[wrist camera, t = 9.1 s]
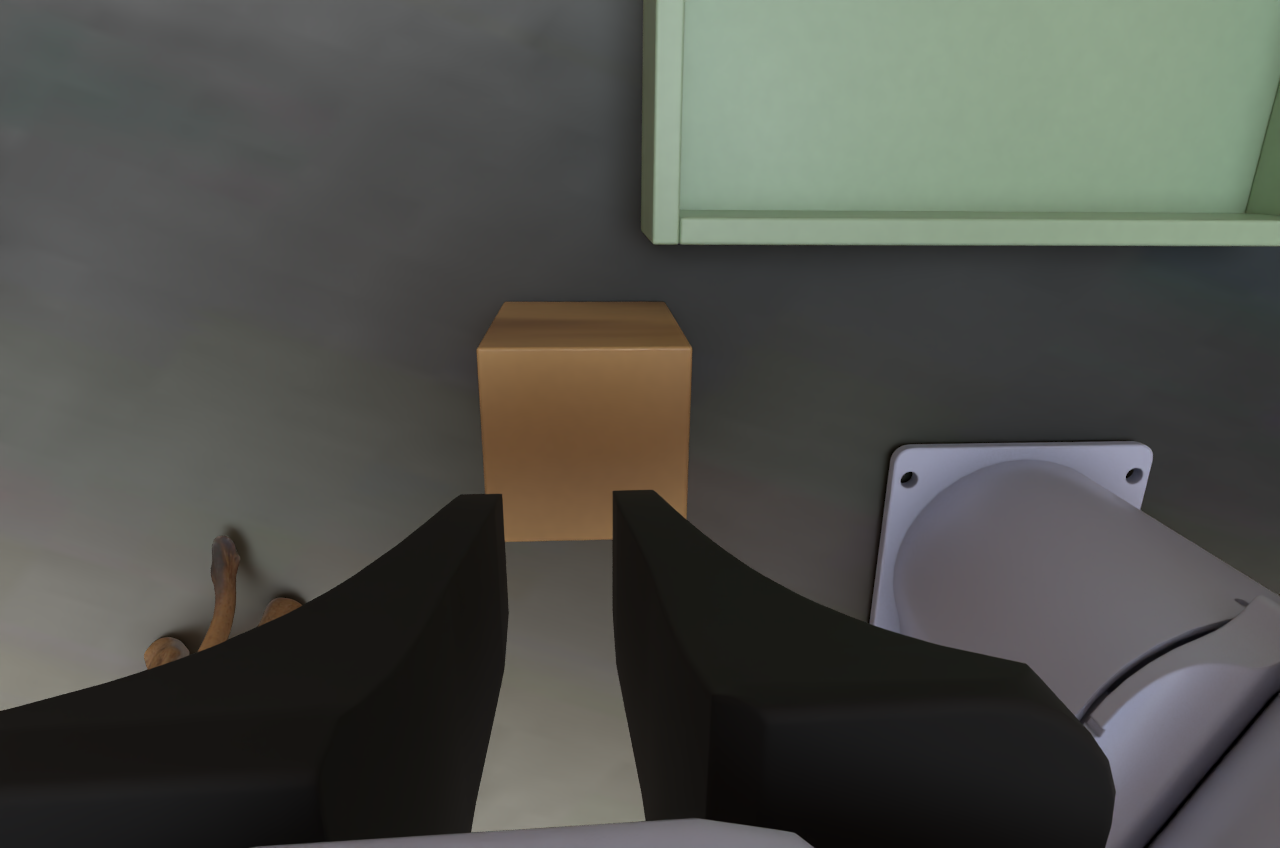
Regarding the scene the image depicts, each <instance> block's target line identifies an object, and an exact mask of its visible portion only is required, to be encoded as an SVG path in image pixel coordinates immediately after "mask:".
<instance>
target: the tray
mask: <svg viewBox="0 0 1280 848" xmlns="http://www.w3.org/2000/svg"><path fill="white" fill-rule="evenodd" d="M641 231H642V232H643V233H644V234H645V235H646V237H647V238H648V239H649V240H650V241H651V242H652V243H653V244H654V245H677V244H678V243H680V244H682V245H973V246H1280V0H643V77H642V182H641Z"/></svg>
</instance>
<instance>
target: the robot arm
mask: <svg viewBox="0 0 1280 848" xmlns="http://www.w3.org/2000/svg"><path fill="white" fill-rule="evenodd" d="M1152 461H1153V453H1152V450H1151V449H1150V448H1149V447H1148V446H1146V445H1144V444H1142V443H1140V442H1136V441H1100V442H1031V443H962V444H908V445H903V446H901V447H899V448H897V449H896V450H895V452H894V453H893V454H892V457H891V460H890V466H889V474H888V482H887V490H886V498H885V505H884V513H883V521H882V529H881V537H880V544H879V552H878V560H877V568H876V576H875V584H874V591H873V599H872V607H871V615H870V623H866V622H863V621H860V620H857V619H855V618H852V617H850V616H847V615H845V614H842V613H840V612H837V611H835V610H833V609H830V608H828V607H825V606H823V605H820V604H818V603H816V602H814V601H811V600H809V599H807V598H805V597H803V596H801V595H799V594H797V593H795V592H793V591H791V590H789V589H787V588H785V587H784V586H782V585H780V584H778V583H776V582H774V581H772V580H771V579H769V578H767V577H765V576H763V575H762V574H760V573H758V572H757V571H755V570H753V569H752V568H750V567H749V566H747V565H746V564H744V563H743V562H741V561H740V560H738V559H737V558H735V557H734V556H733V555H731V554H730V553H728V552H727V551H725V550H724V549H722V548H721V547H720V546H719V545H717V544H716V543H715V542H713V541H712V540H711V539H709V538H708V537H707V536H706V535H704V534H703V533H702V532H701V531H699V530H698V529H697V528H696V527H695V526H693V525H692V524H691V523H690V522H689V521H688V520H686V519H685V518H684V517H683V516H682V515H681V514H680V513H679V512H677V511H676V510H675V509H674V508H673V507H672V506H671V505H670V504H669V503H668V502H666V501H665V500H664V499H663V498H662V497H661V496H660V495H659V494H658V493H657V492H655V491H654V490H620V491H613V623H614V638H615V652H616V665H617V670H618V676H619V681H620V686H621V691H622V696H623V702H624V707H625V712H626V717H627V722H628V727H629V732H630V737H631V742H632V747H633V752H634V757H635V762H636V767H637V773H638V778H639V783H640V788H641V793H642V799H643V806H644V813H645V819H646V821H641V822H626V823H611V824H595V825H580V826H564V827H549V828H534V829H518V830H503V831H488V832H472V833H471V829H472V823H473V817H474V811H475V805H476V800H477V795H478V791H479V786H480V781H481V777H482V772H483V767H484V763H485V758H486V753H487V749H488V744H489V739H490V735H491V730H492V726H493V721H494V716H495V711H496V707H497V702H498V697H499V692H500V688H501V683H502V678H503V673H504V666H505V654H506V642H507V628H508V615H509V611H508V592H507V574H506V555H505V536H504V518H503V499H502V494H467V495H459V496H458V497H456V498H455V499H454V500H452V501H451V502H450V503H449V504H447V505H446V506H445V507H444V508H442V509H441V510H440V511H439V512H438V513H436V514H435V515H434V516H433V517H432V518H430V519H429V520H428V521H427V522H426V523H424V524H423V525H422V526H421V527H419V528H418V529H417V530H416V531H414V532H413V533H412V534H411V535H409V536H408V537H407V538H406V539H404V540H403V541H402V542H401V543H399V544H398V545H397V546H395V547H394V548H392V549H391V550H390V551H388V552H387V553H385V554H384V555H382V556H381V557H380V558H378V559H377V560H375V561H374V562H373V563H371V564H370V565H368V566H367V567H365V568H364V569H363V570H361V571H360V572H358V573H357V574H355V575H354V576H352V577H351V578H349V579H348V580H346V581H344V582H343V583H341V584H340V585H338V586H336V587H335V588H333V589H331V590H330V591H328V592H326V593H324V594H322V595H321V596H319V597H317V598H315V599H313V600H312V601H310V602H308V603H306V604H304V605H302V606H301V607H299V608H297V609H295V610H293V611H291V612H289V613H287V614H285V615H283V616H281V617H278V618H276V619H274V620H272V621H269V622H267V623H265V624H263V625H261V626H258V627H256V628H254V629H252V630H249V631H247V632H245V633H243V634H240V635H238V636H236V637H234V638H231V639H229V640H227V641H225V642H222V643H220V644H218V645H215V646H212V647H210V648H207V649H205V650H202V651H199V652H197V653H194V654H191V655H189V656H186V657H183V658H180V659H178V660H175V661H172V662H169V663H166V664H163V665H160V666H157V667H154V668H151V669H148V670H145V671H142V672H139V673H136V674H133V675H130V676H127V677H124V678H121V679H117V680H114V681H111V682H108V683H104V684H101V685H97V686H93V687H90V688H86V689H82V690H78V691H75V692H71V693H67V694H63V695H60V696H56V697H52V698H48V699H45V700H41V701H37V702H34V703H30V704H26V705H22V706H19V707H15V708H11V709H7V710H3V711H0V848H1280V596H1279V595H1277V594H1275V593H1274V592H1272V591H1271V590H1269V589H1267V588H1266V587H1264V586H1262V585H1261V584H1259V583H1258V582H1256V581H1254V580H1253V579H1251V578H1250V577H1248V576H1246V575H1245V574H1243V573H1241V572H1240V571H1238V570H1237V569H1235V568H1233V567H1232V566H1230V565H1228V564H1227V563H1225V562H1224V561H1222V560H1220V559H1219V558H1217V557H1216V556H1214V555H1212V554H1211V553H1209V552H1207V551H1206V550H1204V549H1203V548H1201V547H1199V546H1198V545H1196V544H1194V543H1193V542H1191V541H1190V540H1188V539H1186V538H1185V537H1183V536H1182V535H1180V534H1178V533H1177V532H1175V531H1173V530H1172V529H1170V528H1169V527H1167V526H1165V525H1164V524H1162V523H1160V522H1159V521H1157V520H1156V519H1154V518H1152V517H1151V516H1149V515H1148V514H1146V513H1144V512H1143V511H1141V510H1140V509H1141V505H1142V501H1143V497H1144V493H1145V489H1146V485H1147V481H1148V477H1149V473H1150V469H1151V465H1152ZM1131 469H1134V471H1133V473H1132V475H1131V476H1130V477H1128V478H1126V475H1127V473H1128V472H1129V471H1130V470H1131ZM907 472H912V474H913V475H912V477H911V479H910V480H909V481H908V482H905V483H901V481H900V480H901V478H902V476H903V475H904V474H905V473H907Z"/></svg>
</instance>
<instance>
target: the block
mask: <svg viewBox="0 0 1280 848" xmlns="http://www.w3.org/2000/svg"><path fill="white" fill-rule="evenodd" d="M477 367H478V384H479V400H480V417H481V433H482V450H483V466H484V483H485V494H502V499H503V518H504V536H505V542H521V541H564V540H607V539H613V491H620V490H654V491H655V492H657V493H658V494H659V495H660V496H661V497H662V498H663V499H664V500H665V501H666V502H668V503H669V504H670V505H671V506H672V507H673V508H674V509H675V510H676V511H677V512H679V513H680V514H681V515H682V516H683V517H684V518H685V519H686V520H687V492H688V463H689V434H690V405H691V376H692V347H691V345H690V344H689V342H688V340H687V339H686V337H685V335H684V334H683V332H682V330H681V329H680V327H679V325H678V323H677V322H676V320H675V318H674V317H673V315H672V313H671V312H670V310H669V308H668V307H667V305H666V303H665V302H504V304H503V305H502V307H501V309H500V310H499V312H498V314H497V315H496V317H495V319H494V321H493V322H492V324H491V326H490V327H489V329H488V331H487V333H486V334H485V336H484V338H483V339H482V341H481V343H480V344H479V346H478V348H477Z"/></svg>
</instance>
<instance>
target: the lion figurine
mask: <svg viewBox="0 0 1280 848" xmlns="http://www.w3.org/2000/svg"><path fill="white" fill-rule="evenodd" d="M239 563H240V556H239V554H238V553H237V551H236V547H235V543H234V542H233V541H232V540H231V539H230V538H229V537H227V536H218V537H216V538H215V539H214V541H213V544H212V566H211V578H212V581H213V583H214V589H215V609H214V615H213V619H212V621H211V624H210V627H209V629H208V632H207V634H206V636H205V638H204V640H203V642H202V644H201V646H200V648H199V650H198V652H199V651H202V650H205V649H207V648H210V647H212V646H215V645H218V644H220V643H222V642H225V641H227V639H228V637H229V634H230V630H231V627H232V623H233V618H234V613H235V606H236V574H237V570H238V566H239ZM301 606H302V604H300V603H299V602H297V601H295V600H293V599H289V598H283V597H280V598H276V599H273V600H272V601H271V602H270V603H269V604H268V605H267V607H266V609H265V611H264V613H263V617H262V619H261V621H260V623H259V625H258V626H261V625H263V624H265V623H267V622H269V621H272V620H274V619H276V618H278V617H281V616H283V615H285V614H287V613H289V612H291V611H293V610H295V609H297V608H299V607H301ZM258 626H257V627H258ZM186 656H189V650H188V649H187V647H186V646H185V645H184V644H183V643H182V642H181V641H180V640H178V639H175V638H172V637H164V638H160V639H158V640H157V641H155V642H154V643H152V644H151V645H150V647H149V648H148V649H147V650H146V652H145V654H144V659H145V662H146V666H147V668H148V669H151V668H154V667H157V666H160V665H163V664H166V663H169V662H172V661H175V660H178V659H180V658H183V657H186ZM148 669H147V670H148Z"/></svg>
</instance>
